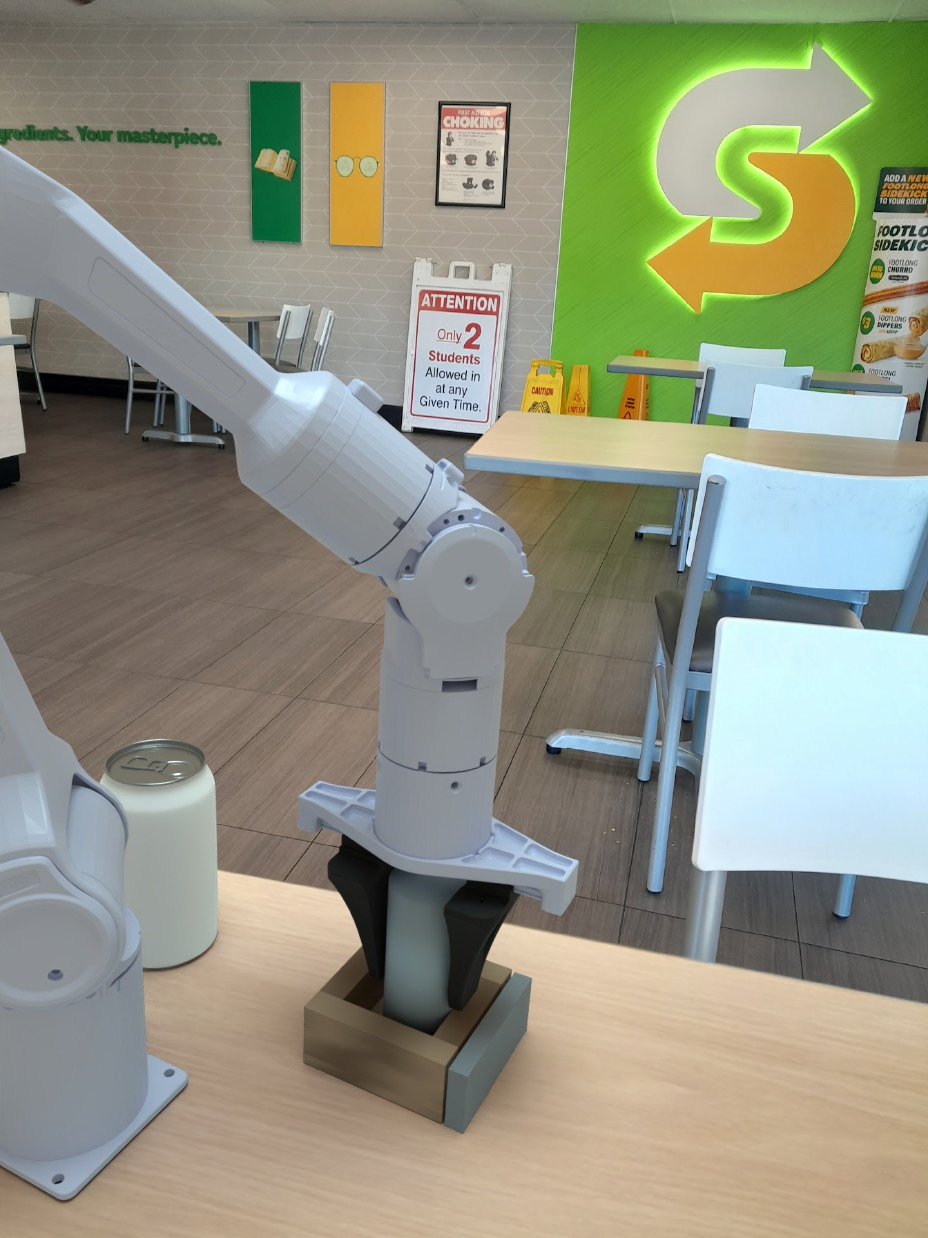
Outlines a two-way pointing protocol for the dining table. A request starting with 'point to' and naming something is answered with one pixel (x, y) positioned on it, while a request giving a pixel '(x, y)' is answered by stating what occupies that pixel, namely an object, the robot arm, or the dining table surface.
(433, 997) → the dowel
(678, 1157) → the dining table surface
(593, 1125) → the dining table surface
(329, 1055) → the frame
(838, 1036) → the dining table surface
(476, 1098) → the backstop wall
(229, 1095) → the dining table surface
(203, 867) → the can
